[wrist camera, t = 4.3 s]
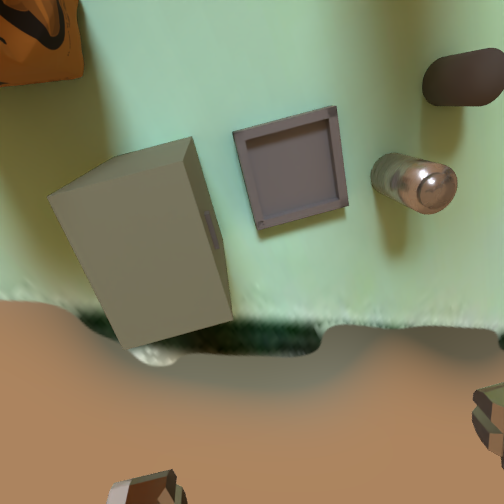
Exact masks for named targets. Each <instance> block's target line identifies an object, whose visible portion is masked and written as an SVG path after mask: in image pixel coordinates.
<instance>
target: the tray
mask: <svg viewBox="0 0 504 504" xmlns="http://www.w3.org/2000/svg"><path fill="white" fill-rule="evenodd" d="M232 133H233V137H234V141H235V145H236V149H237V153H238V157H239V161H240V165H241V169H242V173H243V177H244V181H245V185H246V189H247V193H248V197H249V201H250V205H251V209H252V213H253V217H254V221H255V225H256V228H257V230H261V229H265V228H268V227H272V226H276V225H279V224H283V223H287V222H290V221H294V220H298V219H302V218H305V217H309V216H313V215H316V214H320V213H324V212H327V211H331V210H335V209H338V208H342V207H346V206H349V203H348V195H347V187H346V179H345V171H344V163H343V155H342V147H341V139H340V131H339V123H338V115H337V107H336V106H328V107H324V108H320V109H316V110H312V111H309V112H305V113H301V114H297V115H294V116H290V117H286V118H282V119H279V120H275V121H271V122H267V123H264V124H260V125H256V126H252V127H248V128H245V129H241V130H237V131H233V132H232Z"/></svg>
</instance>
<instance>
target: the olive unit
mask: <svg viewBox="0 0 504 504" xmlns="http://www.w3.org/2000/svg"><path fill="white" fill-rule="evenodd" d="M47 199H48V201H49V203H50V205H51V207H52V209H53V211H54V213H55V215H56V217H57V219H58V221H59V223H60V225H61V227H62V229H63V231H64V233H65V235H66V237H67V239H68V241H69V243H70V245H71V247H72V249H73V251H74V252H75V254H76V256H77V258H78V260H79V262H80V264H81V266H82V268H83V270H84V272H85V274H86V276H87V278H88V280H89V282H90V284H91V286H92V288H93V290H94V292H95V294H96V296H97V298H98V300H99V302H100V304H101V306H102V308H103V310H104V312H105V314H106V316H107V318H108V320H109V322H110V324H111V326H112V328H113V330H114V332H115V334H116V336H117V338H118V340H119V342H120V344H121V346H122V348H123V350H127V349H130V348H134V347H138V346H141V345H145V344H148V343H152V342H156V341H159V340H163V339H167V338H170V337H174V336H177V335H181V334H185V333H188V332H192V331H195V330H199V329H203V328H206V327H210V326H214V325H217V324H221V323H224V322H228V321H232V320H233V314H232V306H231V299H230V291H229V284H228V276H227V268H226V261H225V253H224V246H223V239H222V235H221V232H220V229H219V225H218V222H217V219H216V215H215V212H214V209H213V205H212V202H211V199H210V195H209V192H208V188H207V185H206V182H205V178H204V175H203V172H202V168H201V165H200V162H199V158H198V155H197V152H196V148H195V145H194V142H193V138H192V136H191V137H187V138H183V139H180V140H176V141H172V142H168V143H165V144H161V145H157V146H153V147H150V148H146V149H142V150H138V151H134V152H131V153H127V154H123V155H119V156H116V157H113V158H111V159H110V160H108V161H106V162H104V163H103V164H101V165H99V166H98V167H96V168H94V169H93V170H91V171H89V172H88V173H86V174H84V175H83V176H81V177H79V178H77V179H76V180H74V181H72V182H71V183H69V184H67V185H66V186H64V187H62V188H61V189H59V190H57V191H56V192H54V193H52V194H50V195H49V196H47Z"/></svg>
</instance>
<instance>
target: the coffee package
mask: <svg viewBox="0 0 504 504" xmlns="http://www.w3.org/2000/svg"><path fill="white" fill-rule="evenodd" d="M78 2H79V0H0V87H5V86H16V85H27V84H35V83H44V82H52V81H60V80H71V79H75V78H80V77H82V76H83V72H84V60H83V55H82V49H81V38H80V32H79V28H78V23H77V7H78Z"/></svg>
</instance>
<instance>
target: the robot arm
mask: <svg viewBox="0 0 504 504" xmlns="http://www.w3.org/2000/svg"><path fill="white" fill-rule="evenodd" d="M473 401H474V402H475V403H476V404H477V407H476V408H475V409H474V410H473V412H472V422H473V425H474V428H475V431H476V433H477V434H478V436H479V438H480V440H481V441H482V442H483V444H484V445H485V446H486V448H487V449H488V450H489V451H491V452H493V453H495V454H497V455H498V456H500V457H501V464H502V468H503V469H504V382H503V383H499V384H496V385H492V386H488V387H485V388H481V389H478V390H476V391H475V392H474V393H473ZM176 479H177V476H176V475H175V473H174V471H173V469H171V470H167V471H163V472H158V473H154V474H150V475H146V476H141V477H137V478H132V479H129V480H125V481H121V482H117V483H114V484H113V486H112V488H111V490H110V492H109V495H108V499H107V503H106V504H188V503H187V498H186V494H185V492H184V490H183V488H182V487H181V486H179V485H177V484H176Z"/></svg>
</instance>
